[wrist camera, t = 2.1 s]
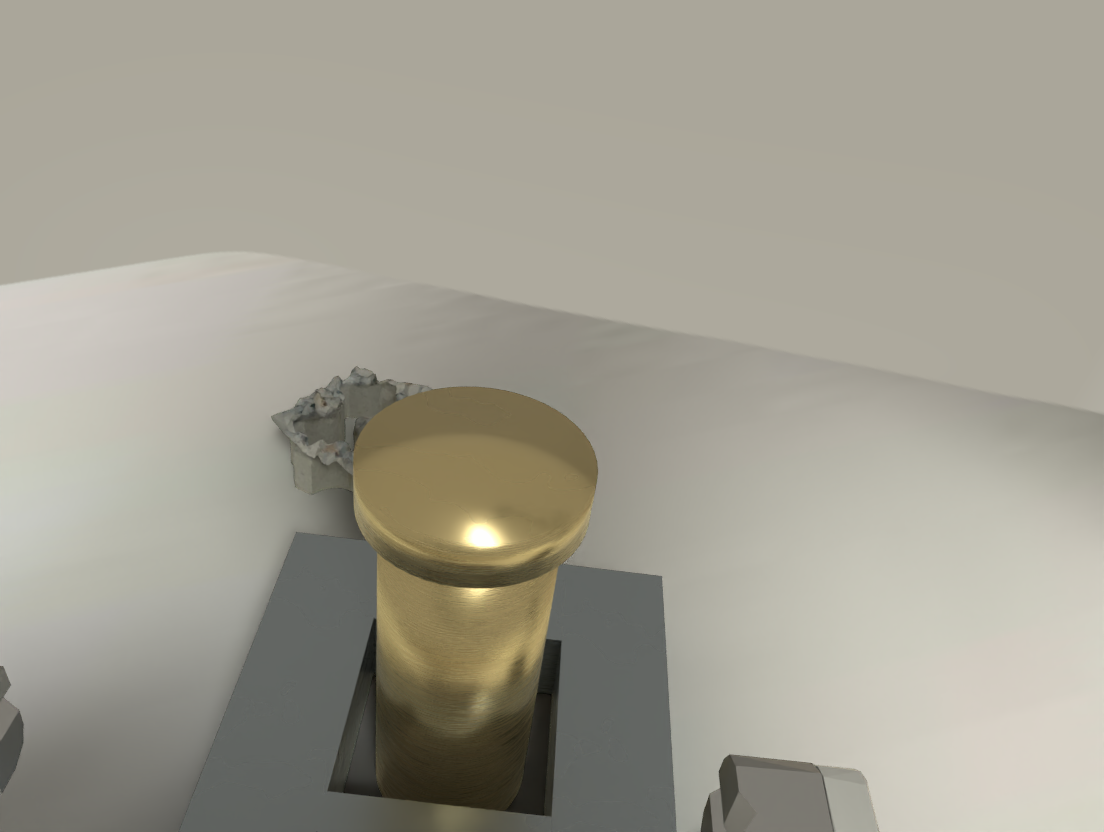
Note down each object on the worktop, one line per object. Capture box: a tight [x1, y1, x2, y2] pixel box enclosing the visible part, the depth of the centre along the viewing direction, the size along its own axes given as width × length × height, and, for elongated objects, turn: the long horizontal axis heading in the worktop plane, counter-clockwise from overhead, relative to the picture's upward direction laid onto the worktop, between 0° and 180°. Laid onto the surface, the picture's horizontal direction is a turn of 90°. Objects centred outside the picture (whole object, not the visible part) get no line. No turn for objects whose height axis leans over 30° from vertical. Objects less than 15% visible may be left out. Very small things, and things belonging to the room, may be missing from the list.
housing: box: [179, 532, 676, 832], centre depth 31 cm, size 14×14×3 cm
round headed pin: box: [353, 387, 598, 811], centre depth 28 cm, size 6×6×14 cm
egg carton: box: [271, 366, 433, 495], centre depth 42 cm, size 11×8×4 cm
